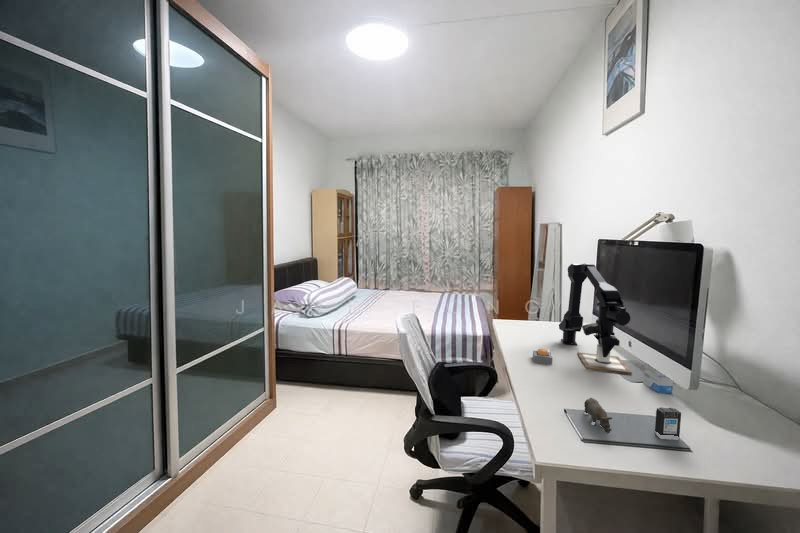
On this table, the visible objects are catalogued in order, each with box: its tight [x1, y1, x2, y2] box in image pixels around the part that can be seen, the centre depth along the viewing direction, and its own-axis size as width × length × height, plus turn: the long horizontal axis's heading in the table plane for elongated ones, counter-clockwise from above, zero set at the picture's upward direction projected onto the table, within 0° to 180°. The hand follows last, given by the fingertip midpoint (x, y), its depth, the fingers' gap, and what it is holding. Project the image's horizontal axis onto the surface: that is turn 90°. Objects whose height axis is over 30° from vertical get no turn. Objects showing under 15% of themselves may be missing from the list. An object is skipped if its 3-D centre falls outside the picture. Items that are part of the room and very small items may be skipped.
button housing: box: [532, 350, 553, 366], centre depth 148 cm, size 7×7×3 cm
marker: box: [595, 343, 611, 362], centre depth 145 cm, size 4×4×7 cm
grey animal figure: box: [583, 397, 613, 434], centre depth 99 cm, size 4×14×6 cm, turn 174°
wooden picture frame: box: [577, 351, 633, 375], centre depth 146 cm, size 18×16×1 cm
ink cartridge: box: [654, 407, 682, 438], centre depth 93 cm, size 5×2×8 cm, turn 87°
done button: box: [537, 348, 549, 356], centre depth 148 cm, size 4×4×3 cm
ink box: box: [642, 362, 674, 394], centre depth 123 cm, size 9×5×12 cm, turn 179°
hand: (603, 355), depth 145 cm, fingers open, 4 cm apart
